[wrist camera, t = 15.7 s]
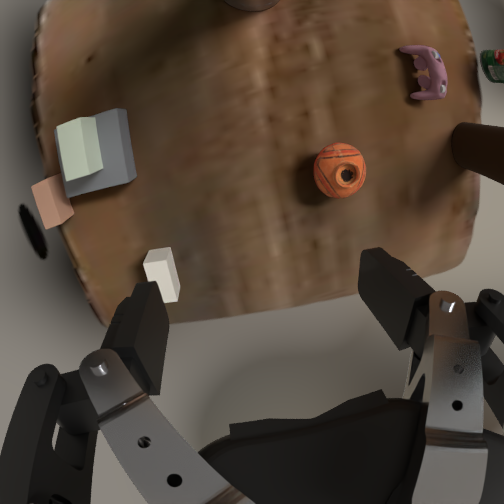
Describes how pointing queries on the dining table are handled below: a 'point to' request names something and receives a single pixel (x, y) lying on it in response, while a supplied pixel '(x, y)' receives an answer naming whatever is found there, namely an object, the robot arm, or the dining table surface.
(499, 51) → the canned tomato
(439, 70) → the video game controller
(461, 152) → the brown bottle
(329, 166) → the pot
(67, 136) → the sage brick
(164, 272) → the cream brick
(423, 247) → the dining table surface
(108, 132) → the charcoal block
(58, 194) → the terracotta brick
